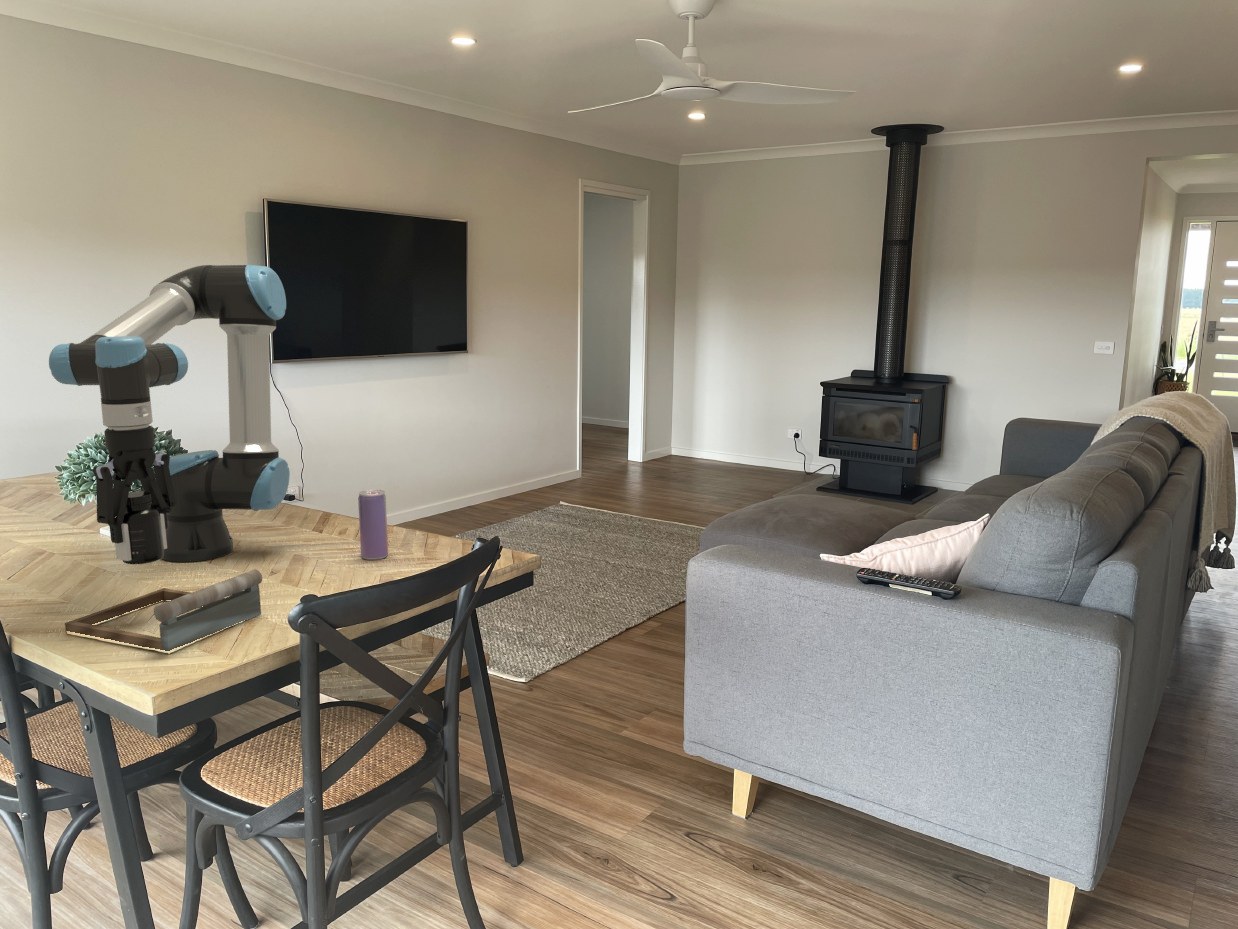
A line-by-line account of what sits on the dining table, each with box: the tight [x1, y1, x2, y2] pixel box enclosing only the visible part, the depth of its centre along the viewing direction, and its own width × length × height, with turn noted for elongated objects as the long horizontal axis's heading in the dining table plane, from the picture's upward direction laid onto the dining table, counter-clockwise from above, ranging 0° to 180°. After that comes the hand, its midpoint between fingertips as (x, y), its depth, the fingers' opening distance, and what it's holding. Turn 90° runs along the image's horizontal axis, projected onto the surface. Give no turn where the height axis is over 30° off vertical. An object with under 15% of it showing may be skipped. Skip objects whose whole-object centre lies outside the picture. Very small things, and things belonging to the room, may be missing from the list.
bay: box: [64, 569, 263, 651], centre depth 156 cm, size 24×21×8 cm
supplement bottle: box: [121, 490, 164, 565], centre depth 156 cm, size 7×7×12 cm
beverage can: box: [357, 489, 389, 561], centre depth 198 cm, size 6×6×15 cm
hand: (142, 553), depth 157 cm, fingers closed on supplement bottle, 7 cm apart
